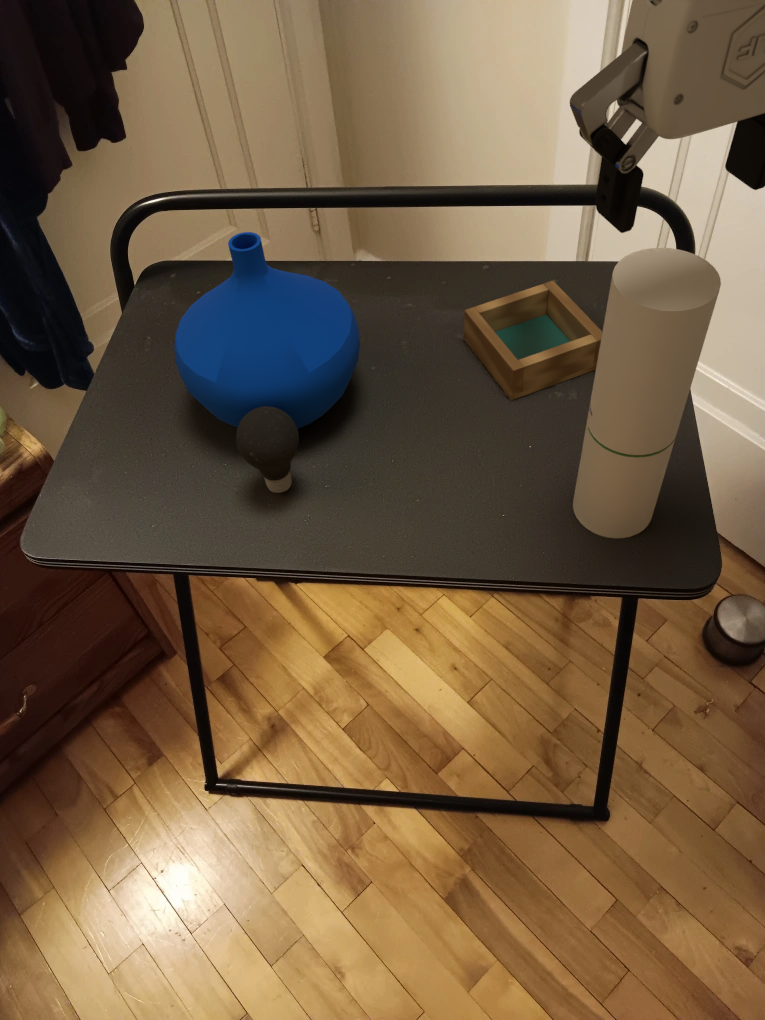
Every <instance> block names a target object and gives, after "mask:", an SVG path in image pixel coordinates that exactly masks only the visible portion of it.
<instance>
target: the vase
mask: <svg viewBox="0 0 765 1020" xmlns="http://www.w3.org/2000/svg"><path fill="white" fill-rule="evenodd" d="M227 245H228V249H229V253H230V258H231V261H232V266H233V272H232V274H231V275H230V276H229V277H228V278H227V279H225V280H223V282H221V283H220V284H218V285H217V286H215V287H213V288H212V289H211V290H209V291H207V292H205V293H204V294H203V295H202V296H201V297H199V298H198V299H197V300H196V301H195V302H193V303H192V304H191V305H190V306H189V307H188V309H187V310H186V311H185V313H184V314H183V316H182V317H181V318H180V320H179V323H178V326H177V329H176V332H175V336H174V347H173V349H174V362H175V366H176V367H177V370H178V373H179V376H180V378H181V380H182V383H183V384H184V386H185V387H186V390H187V391H188V393H189V394H190V395H191V396H192V397H193V398H194V399H195V400H196V401H198V403H199V404H201V405H202V407H204V408H205V409H206V410H207V411H209V412H210V413H211V414H212V415H213V416H214V417H215V418H216V419H217V420H219V421H221V422H223V423H225V424H228V425H230V426H232V427H234V428H238V426H239V423H240V421H241V420H242V418H243V417H244V416H245V415H246V414H247V413H249V412H250V411H252V410H254V409H255V408H259V407H263V406H269V407H275V408H278V409H280V410H282V411H284V412H285V413H287V414H288V415H289V416H290V417H291V418H292V420H293V421H294V422H295V425H296V427H297V430H298V429H301V428H303V427H305V426H308V425H310V424H312V423H314V422H316V420H319V418H321V417H322V416H324V415H325V414H326V413H327V412H328V411H329V410H330V409H331V408H332V407H333V406H334V405H335V404H336V403H337V402H338V401H339V400H340V399H341V397H343V396H344V393H345V391H346V389H347V387H348V386H349V384H350V381H351V379H352V376H353V373H354V371H355V369H356V366H357V365H358V362H359V355H360V348H361V347H360V346H361V341H360V330H359V329H360V328H359V325H358V321H357V317H356V315H355V312H354V311H353V309H352V307H351V306H350V303H348V301H347V300H346V298H345V297H344V296H343V294H341V292H340V291H339V290H338V289H337V288H335V287H333V286H332V285H330V284H329V283H327V282H326V281H324V280H321V279H318V278H316V277H313V276H309V275H307V274H301V273H295V272H289V271H286V270H285V271H284V270H281V269H277V268H273V267H271V266H269V265H268V262H267V261H266V257H265V252H264V247H263V242H262V238H261V236H260V235H259V234H258V233H256V232H253V231H244V232H239V233H236V234H235V235H233V236H232V237H230V238H229V239H228V242H227Z"/></svg>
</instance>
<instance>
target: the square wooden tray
mask: <svg viewBox="0 0 765 1020" xmlns="http://www.w3.org/2000/svg"><path fill="white" fill-rule="evenodd" d="M463 312H464V314H463V315H464V318H463V322H464V323H463V329H464V330H463V341H464V342H465V343H466V344H467V346H468V347H469V348H470V349H471V350H472V351H471V352H473V353H474V354H475V356H476V357H477V358H478V360H479V361H480V362H481V364H482V365H483V366H484V367H485V368H486V370H487V371H488V372H489V374H490V375H491V376H492V378H493V379H494V380H495V382H496V383H497V384H498V385H499V387H500V388H501V389H502V390H503V392H504V393H505V394H506V396H507V397H508V398H509V399H510V401H513V400H516V399H519V398H521V397H524V396H527V395H530V394H532V393H533V394H534V393H536V392H539V391H541V390H544V389H547V388H549V387H552V386H554V385H557V384H560V383H563V382H565V381H569V380H571V379H574V378H577V377H579V376H582V375H585V374H588V373H591V372H593V371H596V366H597V361H598V355H599V349H600V343H601V338H602V332H603V330H601V329H600V327H598V326H597V325H596V324H595V322H593V321H592V319H591V318H589V316H588V315H587V314H586V313H585V311H583V310H582V309H581V308H580V307H579V306H578V305H577V304H576V303H575V302H574V300H572V299H571V297H570V296H569V295H567V293H566V292H564V290H563V289H561V287H560V286H559V285H558V284H557V283H556V281H554V280H550V281H547V282H544V283H542V284H538V285H535V286H533V287H529V288H526V289H524V290H521V291H517V292H514V293H511V294H508V295H505V296H502V297H500V298H496V299H493V300H491V301H488V302H484V303H481V304H478V305H475V306H472V307H469V308H466V309H464V311H463Z"/></svg>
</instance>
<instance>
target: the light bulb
mask: <svg viewBox="0 0 765 1020" xmlns="http://www.w3.org/2000/svg"><path fill="white" fill-rule="evenodd" d="M236 428H237V427H236ZM235 435H236V436H235V442H236V446H237V449H238V451H239V453H240V455H241V457H242V458H243V459H244V460H245V462H247V464H249V465H250V466H252V467H253V468H255V469H257V470H258V471H259V472H260V474H261V476H262V477H263V479H264V482H265V485H266V487H267V489H268V490H269V491H270V492H272V493H276V494H279V493H283V492H286V491H288V489H290V488H291V486H292V482H293V481H292V474H291V465H292V460H293V459H294V457H295V455H296V454H297V452H298V451H297V450H298V447H299V443H300V435H299V430H298V429H297V427H296V425H295V422H294V421H293V420H292V418H291V417H290V416H289V415H288V414H287V413H285V412H284V411H282V410H280V409H278V408H275V407H269V406H263V407H259V408H255V409H254V410H252V411H250V412H249V413H247V414H246V415H245V416H244V417H243V418H242V420H241V421H240V423H239V426H238V428H237V430H236V434H235Z"/></svg>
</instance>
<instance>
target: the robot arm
mask: <svg viewBox="0 0 765 1020" xmlns="http://www.w3.org/2000/svg"><path fill="white" fill-rule="evenodd" d="M615 102H616V103H617V106H618V107H617V109H616V110H615V112H614V113H613V115H612V116H611V117H610V119H609V120H608V118H607V112H608V109H609V107H610V106H611V105H612V104H613V103H615ZM569 107H570V110H571V112H572V114H573V117H574V120H575V123H576V125H577V127H578V128H579V129H578V130H579V131H578V133H579V136H580V137H581V139H582V140H583V141H585V142H586V143H587V144H588V145H589V146H590V147H591V148H592V149H593V150H594V152H595V153H596V154H598V155H599V156H600V157H601V159H600V165H599V166H600V167H599V171H598V172H599V173H598V180H597V187H596V193H595V199H594V200H595V201H594V203H595V209H596V211H597V213H598V214H599V215H600V216H601V217H603V218H604V219H605V220H606V221H607V222H608V223H609V224H610V225H611V226H613V228H615V229H616V230H617V231H618V232H619V233H621V234H624V233H627V232H630V231H632V228H634V225H635V221H636V215H637V211H638V206H639V202H640V201H639V200H640V196H641V191H642V186H643V180H644V171H643V169H642V168H641V167H640V166H638V164H639V163H640V161H641V160H642V159H643V158H644V156H645V155H646V154H647V152H648V151H649V150H650V148H651V147H652V146H653V144H654V143H655V142H656V141H657V139H658V138H659V137H660V138H661V139H665V140H676V139H677V140H678V139H682V138H686V137H690V136H694V135H697V134H701V133H704V132H707V131H710V130H714V129H717V128H720V127H724V126H728V125H731V124H734V123H736V124H735V128H734V132H733V135H732V139H731V143H730V147H729V149H728V153H727V157H726V161H725V164H724V169H725V170H726V172H728V173H729V174H730V175H732V176H733V177H735V179H737V180H739V181H740V182H741V183H743V184H744V185H746V186H747V187H749V188H750V189H752V190H754V191H758V190H760V189H764V188H765V0H632V1H631V3H630V8H629V12H628V18H627V21H626V27H625V30H624V37H623V43H622V48H621V53H620V55H618V56H617V57H616V58H614V59H613V60H612V61H611V62H610V63H609V64H607V65H606V66H604V68H602V69H601V70H599V72H598V73H596V74H595V75H594V76H593V77H592V78H590V79H589V80H587V82H586V83H584V84H583V85H581V86H580V87H579V88H578V89H577V90H576V91H574V93H572V95H571V96H570V99H569ZM636 120H637V121H638V122H640V125H639V126H638V128H637V129H636V130H635V131H634V133H633V134H632V136H631V137H630V138H629V139H628V141H627V142H626V143H625V142H624V141H623V140H622V139H623V138H624V136H625V135H626V134H627V132H628V131H629V130H630V129H631V127H632V126H633V124H634V123H635V122H636Z"/></svg>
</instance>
